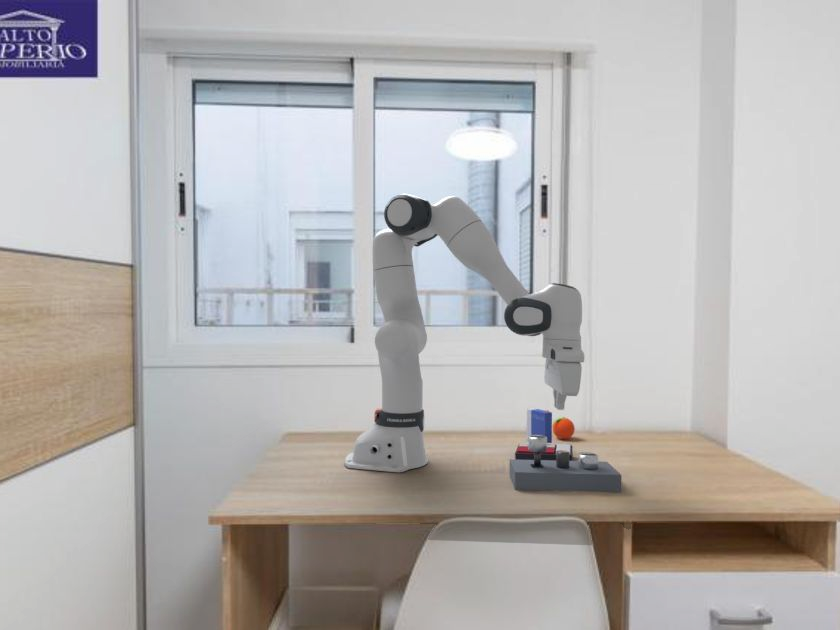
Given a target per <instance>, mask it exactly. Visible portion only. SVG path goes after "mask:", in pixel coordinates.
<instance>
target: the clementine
mask: <svg viewBox="0 0 840 630" xmlns="http://www.w3.org/2000/svg"><path fill="white" fill-rule="evenodd" d="M575 429H576V428H575V424H574V422H573V421H572V420H571V419H569V418H568V417H564V416H563V417H558V418H556V419H555V420H554V421H553V422H552V433H554V435H555V436H556V437H557V438H559V439H561V440H568V439H570V438H571V437H573V435H574V434H575Z"/></svg>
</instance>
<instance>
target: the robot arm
mask: <svg viewBox="0 0 840 630" xmlns="http://www.w3.org/2000/svg"><path fill="white" fill-rule="evenodd" d="M383 216H384V221H385V223H386V226H387V227H388V228H385V229H382V230H380V231H379V232H377V233H376V234H375V236H373V240H372V266H373V267H372V268H373V269H372V270H373V277H374V283H375V291H376V299H377V303H378V304H379V306H380V309H381V312H382V315H383V318H384V322H385V323H384V324H382V325H381V326H380V327H379V328H378V330H377V332H376V334H375V337H374V344H375V348H376V351H377V356H378V363H379V369H380V375H381V388H382V389H381V400H382V401H381V408H380V407H378V408H376V409H375V410H374V424H372V425H371V426H370V427H368V428H367V429H366V430H364V431H363V432H362V433H360V435H358V437H357V438H356V439H355V443H354V445H353V451H352V452H350V453H348V454H347V455H346V456H345V458H344V466H345V467H346V468H347V469H356V470H368V471H379V472H389V473H403V472H406V471H408V470H412V469H417V468H421V467H423V466H425V465H427V464H428V462H429V460H428V456H427V452H426V447H425V439H424V431H425V410H424V409H423V394H424V393H423V379H422V372H421V365H420V358H419V357H420V355H419V354H421V353H422V352H423V350H424V349H425V347H426V345H427V341H428V335H427V331H426V327H425V326H426V324H425V321H424V316H423V313H422V309H421V308H422V307H421V304H420V301H419V300H420V299H419V295H418V291H417V284H416V276H415V274H416V273H415V269H414V261H413V248H414V247H420V246H421V245H424V244H425V243H428V242H430V241H431V240H434V239H436V238H437V236H438V237H439V238H440V239H441V240H442V241H443V243H444V244H445V246H446V247H447V249H448V250H449V251H450V253H451V254H452V255H453V257H455V258H456V259H457V261H459V262H460V263H461V264H462V265H463V266H464V267H466V268H467V269H469V270H471V271H472V272H473V273H476V274H478V275H479V276H481V277H482V278H483V279H485V280H486V281H487V282H489V284H490V285H491V286H492V287H493V289H494V290H495V291H496V293H498V295H499V297H501V299H502V300H503V302H504V303H505V304H506V305H507V306H506V307H505V309H504V313H503V318H504V319H503V320H504V323H505V324H506V327H507V329H509V330H510V331H511V332H513V333H514V334H516V335H518V336H522V337H523V336H524V337H525V336H527V337H536V336H540V335H541V334H542V358H544V359H545V363H544V364H545V365H544V383H545V384H546V385H547V386H549V387H550V388H551V389H552V394H553V399H554V400H553V401H554V403H553V406H554V408H556V409H557V410H559V411H564V410H565V403H566V400H567V397H577V396H578V395H579V392H580V389H581V379H582V372H583V371H582V363H584V362H585V353H584V351H583V349H582V336H581V332H580V331H581V325H582V323H583V300H582V295H581V293H580V291H579V290H578V289H577V288H576V287H575V286H572V285H571V286H570V285H569V284H564V283H563V284H562V283H556V282H555V283H554V282H552V283H549V284H547V285H546V286H545V287H543V288H541V289H539V290H537V291H535V292H533V293H529V292H528V290H527V289H526V288H525V287H524V286H523V285H522V283H521V282H520V281H519V279H518V278H517V277H516V275H515V274H514V273H513V272H512V270H511V269H510V268H509V266H508V265H507V263H506V261H505V259H504V257H503V255H502V253H501V251H500V249H499V247H498V245H497V243H496V240H495V238H494V237H493V236H492V234H491V232H490V230H489V228H488V227H487V225H486V224H485V223H484V222H483V220H482V219H481V217H480V216H478V213H476V212H475V211H474V209H472V207H471V206H470V205H468V204H467V203H466V202H465V201H464V200H463V199H462V198H460V197H458V196H455V195H451V196H447V197H444V198H442V199H441V200H439V201H438V202H437V203H434V204H432V203H430V202H429V200H426V199H424V198H421V197H419V196H416V195H413V194H408V193H401V194H397V195H395V196H393V197H392V198H390V199H389V200H388V201H387V203H386V204H385V208H384V212H383Z"/></svg>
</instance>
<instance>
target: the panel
mask: <svg viewBox="0 0 840 630" xmlns="http://www.w3.org/2000/svg"><path fill="white" fill-rule="evenodd" d="M509 478H510V481H511V483H512V485H513V487H514V490H518V491H519V490H520V491H524V490H525V491H550V490H556V491H557V490H558V491H557V492H559V491H560V492H591V493H593V492H594V493H596V492H597V493H622V474H621V473H620V472H619V471H618V470H617V469H616V468H614V467H613V466H612V465H611V464H610V463H609V462H608V461H599V460H598V469H597V470H584V469H581V468H579V460H573V461H569V468H568V469H562V468H558V467H556V460H541V466H540V467H536V466H534V460H515V459H509ZM556 491H555V492H556Z"/></svg>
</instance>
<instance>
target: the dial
mask: <svg viewBox="0 0 840 630" xmlns="http://www.w3.org/2000/svg"><path fill="white" fill-rule="evenodd" d="M556 467H558V468H562V469H568V468H569V451H563V450H559V451H556Z"/></svg>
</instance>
